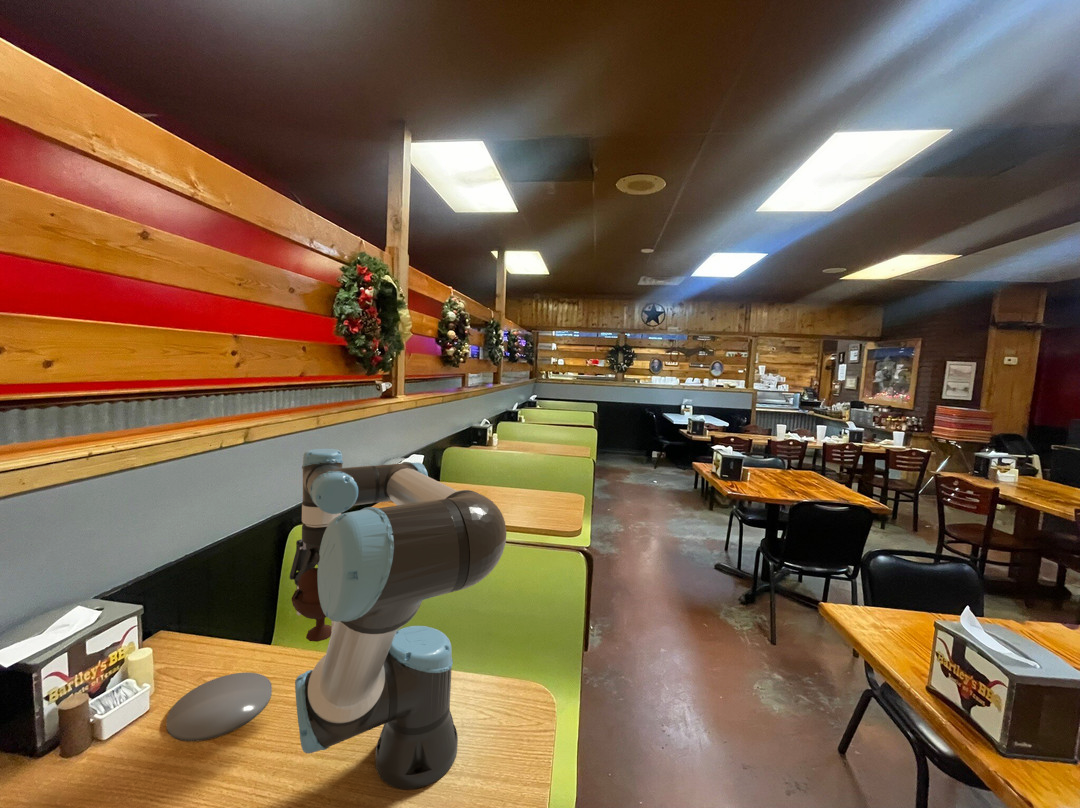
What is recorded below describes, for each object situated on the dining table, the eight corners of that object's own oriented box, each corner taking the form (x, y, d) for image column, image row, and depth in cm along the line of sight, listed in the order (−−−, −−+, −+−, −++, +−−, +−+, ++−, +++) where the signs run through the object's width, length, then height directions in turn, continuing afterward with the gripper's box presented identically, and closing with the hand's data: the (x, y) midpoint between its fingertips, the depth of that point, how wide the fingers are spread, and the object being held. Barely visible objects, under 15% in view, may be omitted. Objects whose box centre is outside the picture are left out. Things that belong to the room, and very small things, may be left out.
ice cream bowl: (333, 650, 90) (335, 580, 89) (280, 647, 91) (280, 577, 90) (356, 621, 101) (357, 558, 100) (308, 618, 101) (308, 555, 100)
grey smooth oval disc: (289, 696, 97) (289, 691, 97) (194, 756, 81) (194, 751, 81) (243, 666, 106) (243, 662, 106) (149, 716, 90) (149, 711, 90)
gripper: (374, 528, 92) (372, 629, 93) (304, 506, 103) (303, 597, 104) (343, 539, 85) (341, 647, 87) (271, 515, 96) (271, 612, 98)
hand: (320, 620), depth 96 cm, fingers closed on ice cream bowl, 11 cm apart
